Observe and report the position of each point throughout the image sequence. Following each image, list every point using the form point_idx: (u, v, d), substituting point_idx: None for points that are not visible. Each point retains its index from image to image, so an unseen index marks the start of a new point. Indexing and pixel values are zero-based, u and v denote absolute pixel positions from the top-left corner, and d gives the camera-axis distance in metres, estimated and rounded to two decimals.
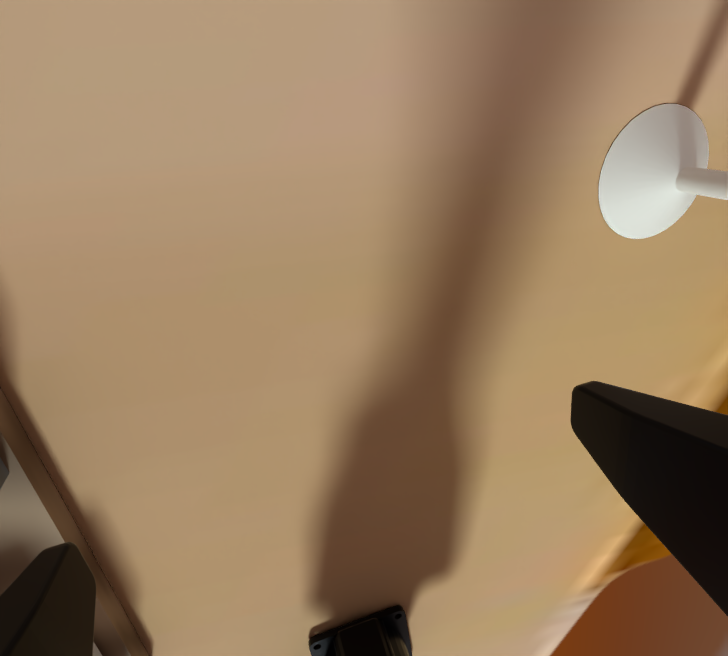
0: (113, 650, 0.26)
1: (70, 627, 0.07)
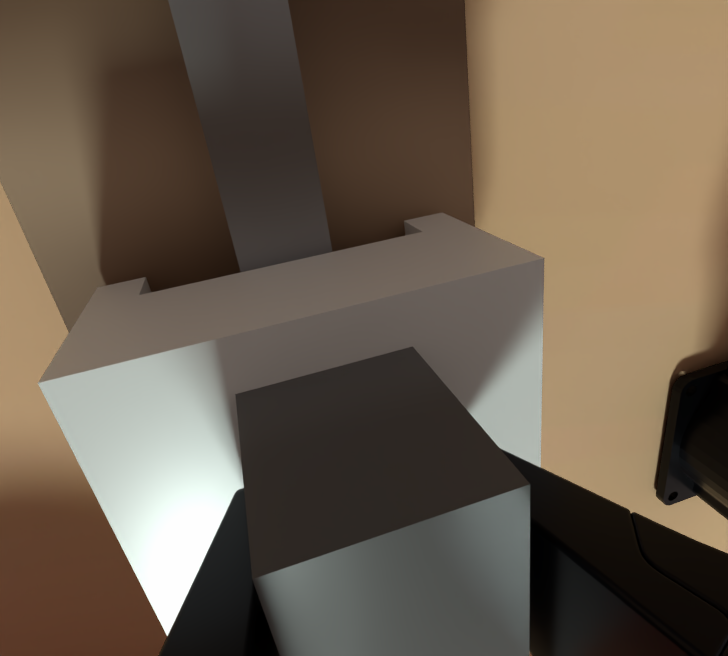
0: None
1: None
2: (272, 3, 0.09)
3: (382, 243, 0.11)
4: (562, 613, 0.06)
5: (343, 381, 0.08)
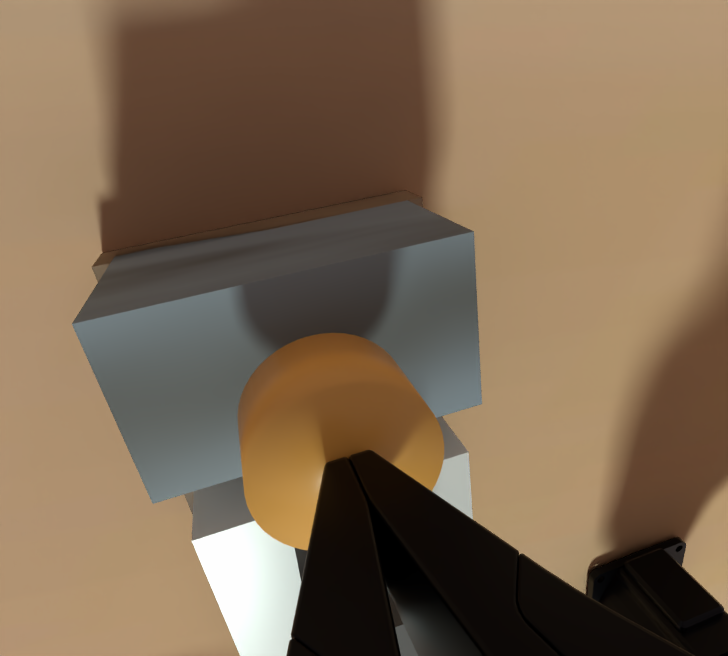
0: None
1: None
2: None
3: None
4: None
5: None
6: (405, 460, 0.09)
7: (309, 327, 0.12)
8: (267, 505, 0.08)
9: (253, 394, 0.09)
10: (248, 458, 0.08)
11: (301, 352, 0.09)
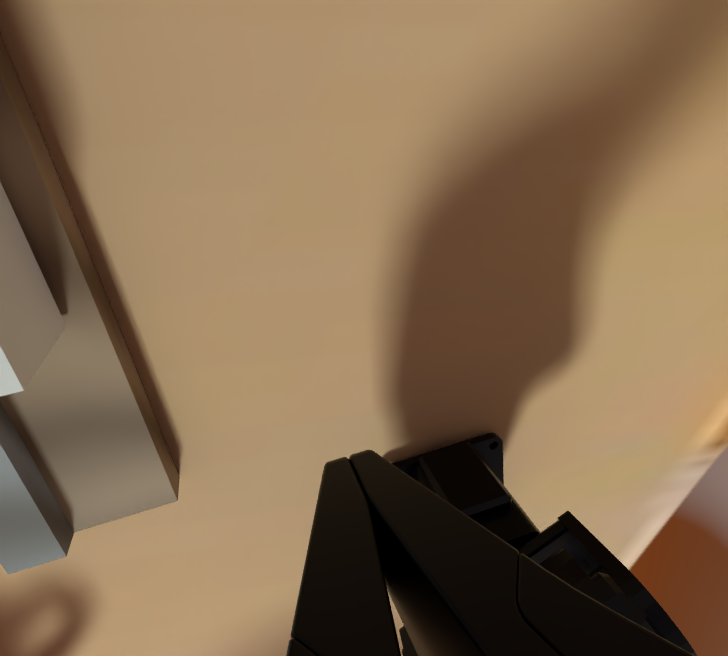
0: (129, 430, 0.19)
1: None
2: None
3: None
4: None
5: None
6: None
7: None
8: None
9: None
10: None
11: None
